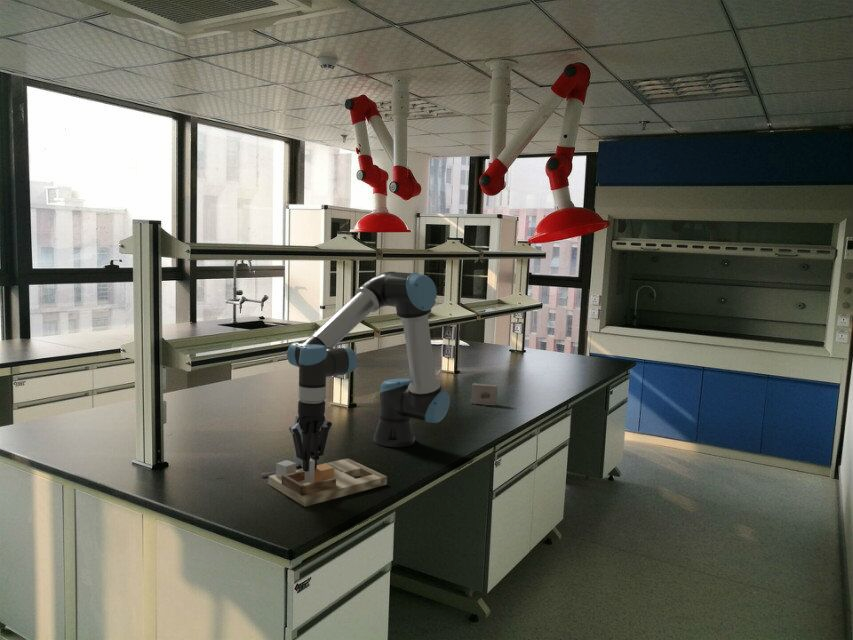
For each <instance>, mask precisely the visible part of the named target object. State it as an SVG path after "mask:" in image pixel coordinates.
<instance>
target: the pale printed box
mask: <svg viewBox="0 0 853 640" xmlns="http://www.w3.org/2000/svg"><path fill="white" fill-rule="evenodd" d="M470 403H484V404H495V405H497V406H498V385H495V384H485V383H475V382H474V383H472V388H471V401H470Z"/></svg>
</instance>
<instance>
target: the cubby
mask: <svg viewBox="0 0 853 640" xmlns="http://www.w3.org/2000/svg"><path fill="white" fill-rule="evenodd" d="M302 480H305V471H304V470H303V471H299V472H294V473H290V474H286V475H282V484H283V485H285V486H286V487H288V488H290V489H291V490H293V491H295V492H296V493H298V494H300V495H301V496H304V495H308V494H312V493H316V492H320V491H324V490H328V489H332V488H335V487H336V479H335V478H332V479H327V480H323V481H319V482H315V483H311V484H307V485H302V484H301V483H299V482H298V481H302Z"/></svg>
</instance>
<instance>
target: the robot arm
mask: <svg viewBox="0 0 853 640" xmlns="http://www.w3.org/2000/svg"><path fill="white" fill-rule="evenodd" d="M436 299H437V287H436V284H435V282H434V281H433V279H432V278H431V277H430V276H428V275H425V274H420V273H417V272H414V273H413V272H412V273H411V272H400V271H399V272H398V271H386V272H382V273H380V274H377V275H376V276H373V277H372V278H370V279H369V280H367V281H366V282H364V283H363V284H362V285H360V287H358V288H357V289H356V290H355V294H354V296H353V297H352V298H350V299H349V300H348V301H347V302H346V303H345V304H344V305H342V307H340V308H339V310H337V311H336V312H335V313H334V314H333V315H332V316H331V317H329V318H328V319H327V320H326V321H325V322H324V323H323V324H322V325H321V326H320V327H319V328H318V329H316V330H315V331H314V332H313V333H312V334H311V335H310V336H309V337H307V339H305V340H304V341H295V342H292V343H291V344H290V345H289V346H288V349H287V351H286V358H287V361H288V362H289V364H290V365H292V366H294V367H297V368H298V401H297V414H298V415H299V417H298V420H297V424H296V425H293V426H289V427H288V430H289V432H290V433H291V434H292V440H293V441H292V442H293V445H294V452H295V451H296V456H297V458H299V459H301V460H303V470H304V471H305V481H306V482H308V483H313V482H314V471H315V470H316V468H317V465H318V461H319V460H320V457H322V456H324V453H325V448H326V445H327V441H328V436H329V432H330V429H331V428H332V426H333V422H331V421H328V420H327V419H326V416H325V414H326V401H325V400H326V397H327V396H326V394H327V392H326V391H327V378H329V377H335V376H340V375H341V376H342V375H346V374H349V373H352V372H354V371H355V369H356V368H357V366H358V357H357V354H356V352H355V350H353V349H352V348H349V347H341V348H334V347H336V346H337V345H338V344H339V343H340V342H341V341H343V339H344V338H345V337H346V336H348V335H349V334H350V333H351V331H353V329H355V328H356V327H357V326H358V325H359V324H360V323H361V322H362V321H364V319H365V318H366V317H367V316H368V315H369V314H370V313H376V312H377V311H378V310H380V308H382V307H388V306H389V307H395V312H396V316H397V318H399V319H401V320H402V326H403V327H402V328H403V334H404V341H405V347H406V353H407V359H408V360H407V361H408V367H409V375H410V378H393V379H392V378H390V379H386V380H384V381H382V382H381V385H380V391H379V417H378V418H379V419H378V422H377V425H376V429H375V431H374V434H373V442H374V443H375V444H377V445H379V446H381V447H382V446H383V447H387V448H404V447H410V446H412V445H414V444H415V440H416V436H415V433H414V427H413V425H412V419H415V420H419V421H423V422H426V423H433V424H438V423H440V422H441V421H442V420H443V419H444V418H445V416H446V415H447V413H448V411H449V407H450V404H451V398H450V394H449V393H448V392H447V391H446V390H443V389H442V388H443V387H442V382H441V381H440V379H437V378H436V370H435V363H434V356H433V355H434V354H433V346H432V340H431V332H430V324H429V315H430V314H431V312H432V309H433V308H434V307H435V304H436ZM300 429H301V430H302V435H303V443H302V440H301V435H300V433H299V432H300ZM310 457H311V458H310Z"/></svg>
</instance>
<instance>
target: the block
mask: <svg viewBox="0 0 853 640" xmlns="http://www.w3.org/2000/svg"><path fill="white" fill-rule="evenodd" d="M275 465H276V467H275V468H276V469H275V471H276V477H279V478H282V475H286V474H290V473H294V472H296V470H297V466H296V463H295V462H294V461H291V460H288V459H285V460H282V461H279V462H277V463H276V464H275Z"/></svg>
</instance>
